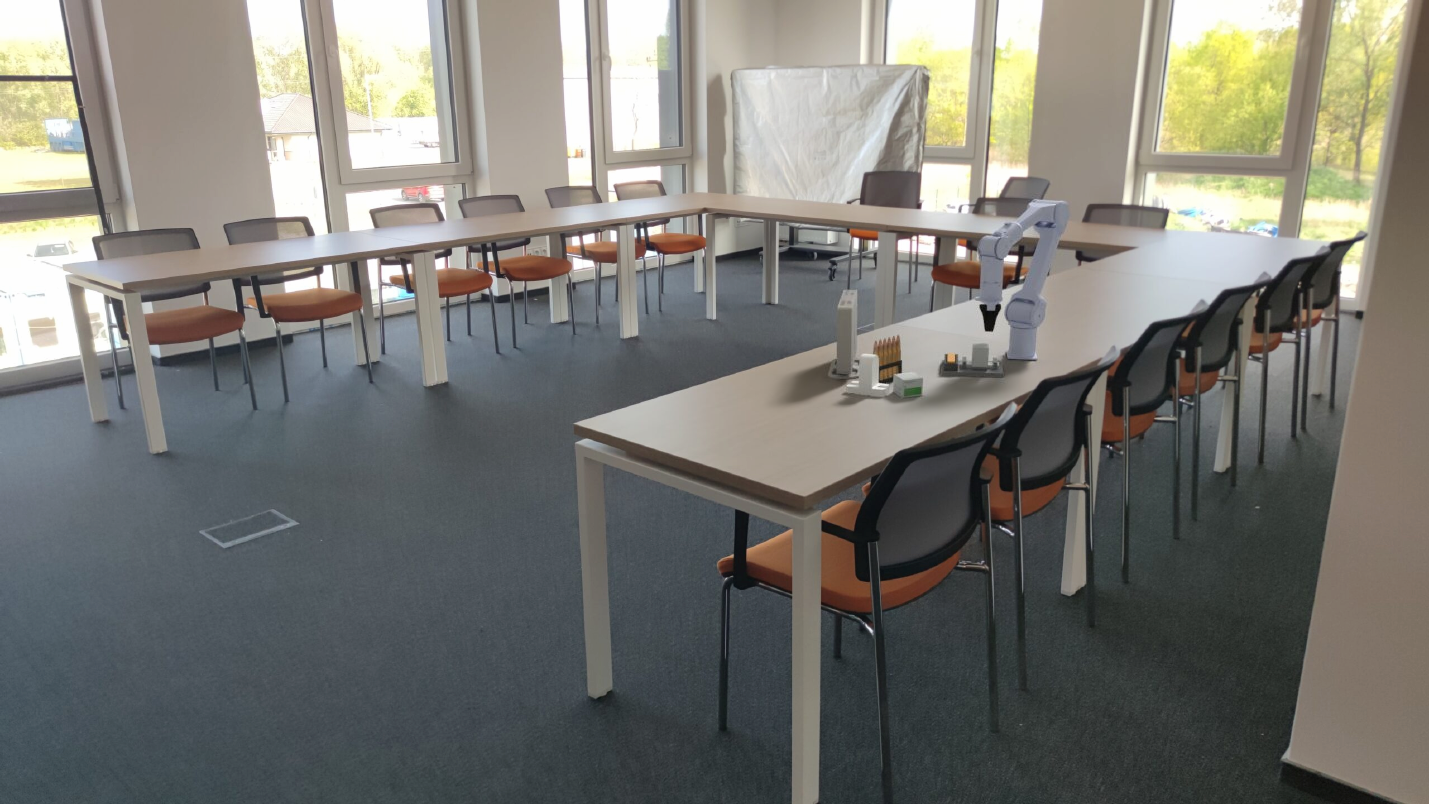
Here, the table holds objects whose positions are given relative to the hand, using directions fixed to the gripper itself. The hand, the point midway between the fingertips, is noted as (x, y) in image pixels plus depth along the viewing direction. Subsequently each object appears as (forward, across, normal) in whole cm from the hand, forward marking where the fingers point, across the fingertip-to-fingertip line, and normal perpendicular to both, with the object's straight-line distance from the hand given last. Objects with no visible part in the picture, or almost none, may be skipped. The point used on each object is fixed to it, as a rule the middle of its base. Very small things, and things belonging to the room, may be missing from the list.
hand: (988, 331), depth 259 cm
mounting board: (+10, +4, -4) cm, 11 cm away
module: (+9, +4, -2) cm, 10 cm away
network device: (+10, +7, -38) cm, 40 cm away
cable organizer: (+10, +28, -30) cm, 42 cm away
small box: (+10, +28, -20) cm, 36 cm away
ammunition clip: (+10, +18, -26) cm, 33 cm away
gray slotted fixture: (+9, +4, -4) cm, 11 cm away
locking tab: (+9, +4, -10) cm, 13 cm away
